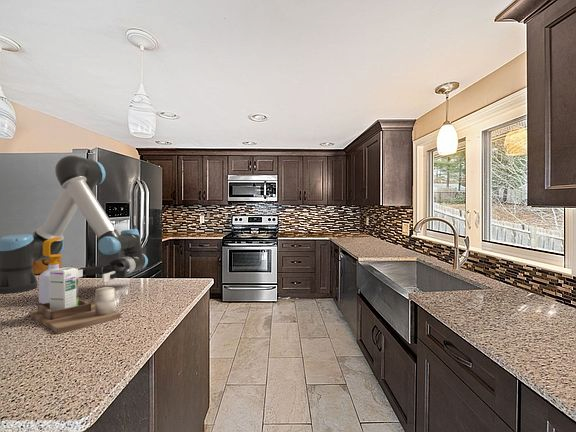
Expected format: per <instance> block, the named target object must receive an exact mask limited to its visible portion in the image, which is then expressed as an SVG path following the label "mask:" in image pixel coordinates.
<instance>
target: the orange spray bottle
mask: <svg viewBox="0 0 576 432" xmlns="http://www.w3.org/2000/svg"><path fill="white" fill-rule="evenodd" d="M33 234H34V232H33ZM33 234H32V235H33ZM50 262H51V259H46V260H40V261H34V262H33V272H34V274H35V275H40V274H41V273H43V272H44V271H46V270H47V269H48V268H49V263H50ZM57 262H59V268H60V269H61V268H62V256H59V257H58V259H57Z"/></svg>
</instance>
